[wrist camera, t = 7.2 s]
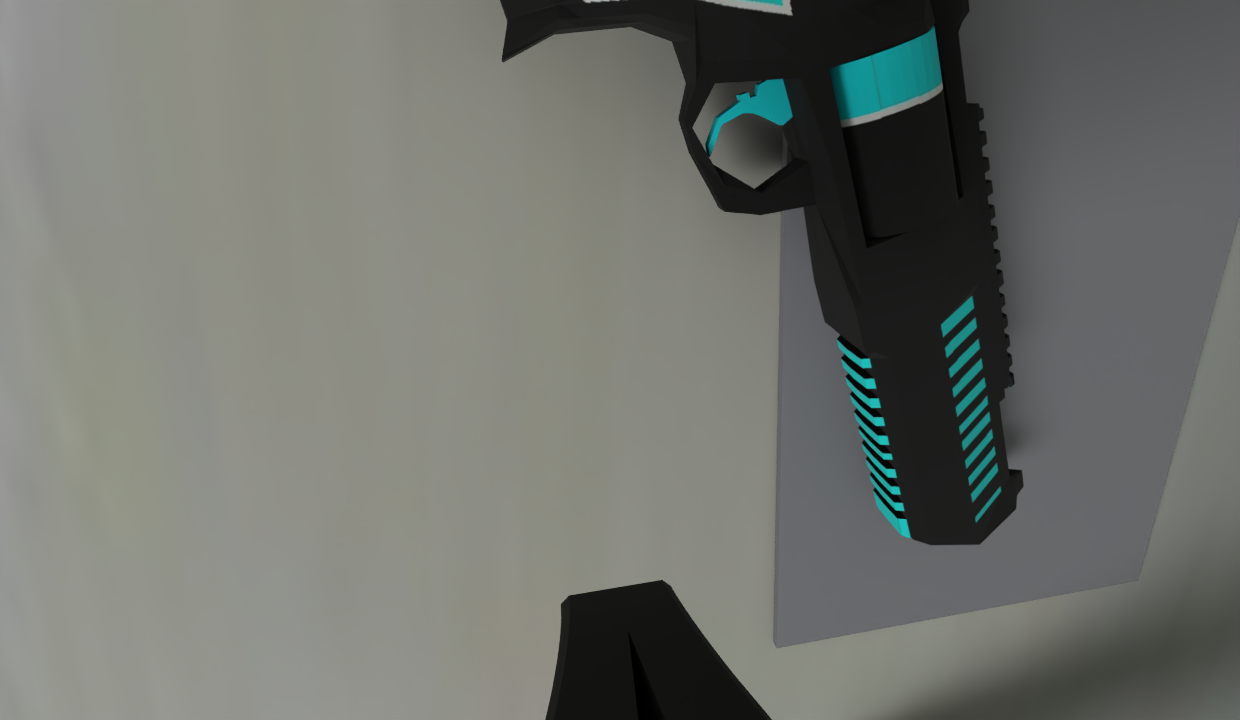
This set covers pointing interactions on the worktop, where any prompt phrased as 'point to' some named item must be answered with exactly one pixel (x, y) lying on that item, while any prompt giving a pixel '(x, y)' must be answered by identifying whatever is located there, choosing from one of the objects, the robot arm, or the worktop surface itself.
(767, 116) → the toy gun
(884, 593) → the mat
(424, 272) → the worktop surface
